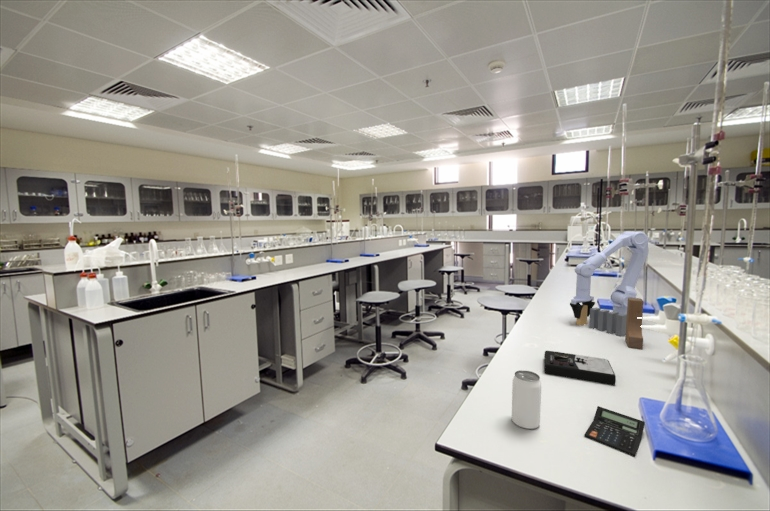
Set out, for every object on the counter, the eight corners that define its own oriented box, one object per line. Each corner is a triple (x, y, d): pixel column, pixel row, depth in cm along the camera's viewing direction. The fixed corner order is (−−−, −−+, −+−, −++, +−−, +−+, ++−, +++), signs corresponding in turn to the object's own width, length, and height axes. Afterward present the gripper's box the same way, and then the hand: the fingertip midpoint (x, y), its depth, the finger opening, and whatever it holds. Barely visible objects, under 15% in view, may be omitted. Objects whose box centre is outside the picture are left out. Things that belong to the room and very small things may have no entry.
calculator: (584, 437, 75) (584, 425, 75) (597, 416, 83) (598, 405, 83) (634, 458, 69) (635, 445, 68) (644, 433, 77) (644, 420, 76)
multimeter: (544, 359, 118) (544, 346, 118) (608, 369, 110) (608, 355, 109) (544, 375, 106) (544, 360, 106) (615, 387, 98) (616, 371, 98)
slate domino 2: (603, 328, 150) (604, 309, 149) (608, 329, 148) (609, 310, 147) (597, 330, 148) (598, 310, 147) (602, 331, 146) (603, 311, 145)
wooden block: (642, 349, 125) (645, 303, 123) (628, 347, 127) (631, 302, 125) (638, 342, 133) (641, 298, 131) (625, 340, 135) (627, 297, 133)
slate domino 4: (622, 333, 143) (623, 313, 142) (627, 334, 141) (628, 314, 140) (615, 335, 141) (617, 314, 140) (621, 336, 139) (622, 315, 138)
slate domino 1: (595, 326, 153) (596, 307, 152) (599, 327, 151) (600, 308, 151) (589, 327, 151) (590, 308, 150) (593, 329, 149) (594, 309, 148)
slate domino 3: (612, 330, 146) (613, 311, 146) (617, 332, 145) (618, 312, 144) (606, 332, 144) (607, 312, 143) (611, 334, 143) (612, 313, 142)
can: (516, 411, 86) (517, 367, 84) (543, 420, 81) (544, 374, 80) (507, 423, 81) (508, 376, 79) (535, 433, 76) (537, 384, 75)
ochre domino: (582, 322, 158) (583, 304, 158) (586, 324, 157) (587, 305, 156) (576, 324, 156) (577, 305, 155) (580, 325, 154) (581, 306, 154)
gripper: (584, 286, 162) (582, 313, 163) (565, 289, 155) (564, 317, 156) (598, 288, 155) (597, 316, 157) (580, 291, 149) (578, 321, 150)
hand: (581, 317), depth 156 cm, fingers open, 7 cm apart
